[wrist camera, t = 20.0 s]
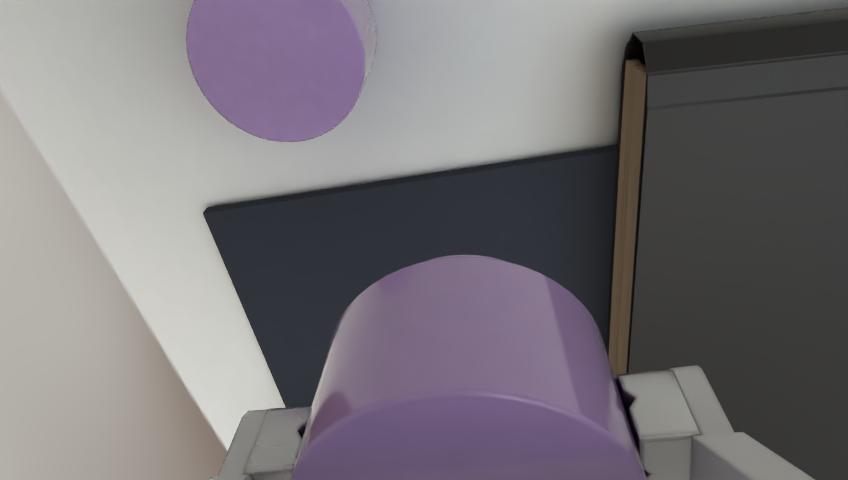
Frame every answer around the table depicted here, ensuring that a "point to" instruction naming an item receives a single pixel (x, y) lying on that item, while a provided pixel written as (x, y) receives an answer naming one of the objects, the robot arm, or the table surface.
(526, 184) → the mat
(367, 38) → the purple short cylinder
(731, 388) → the file folder
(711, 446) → the robot arm
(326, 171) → the table surface
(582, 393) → the lilac cylinder puck
